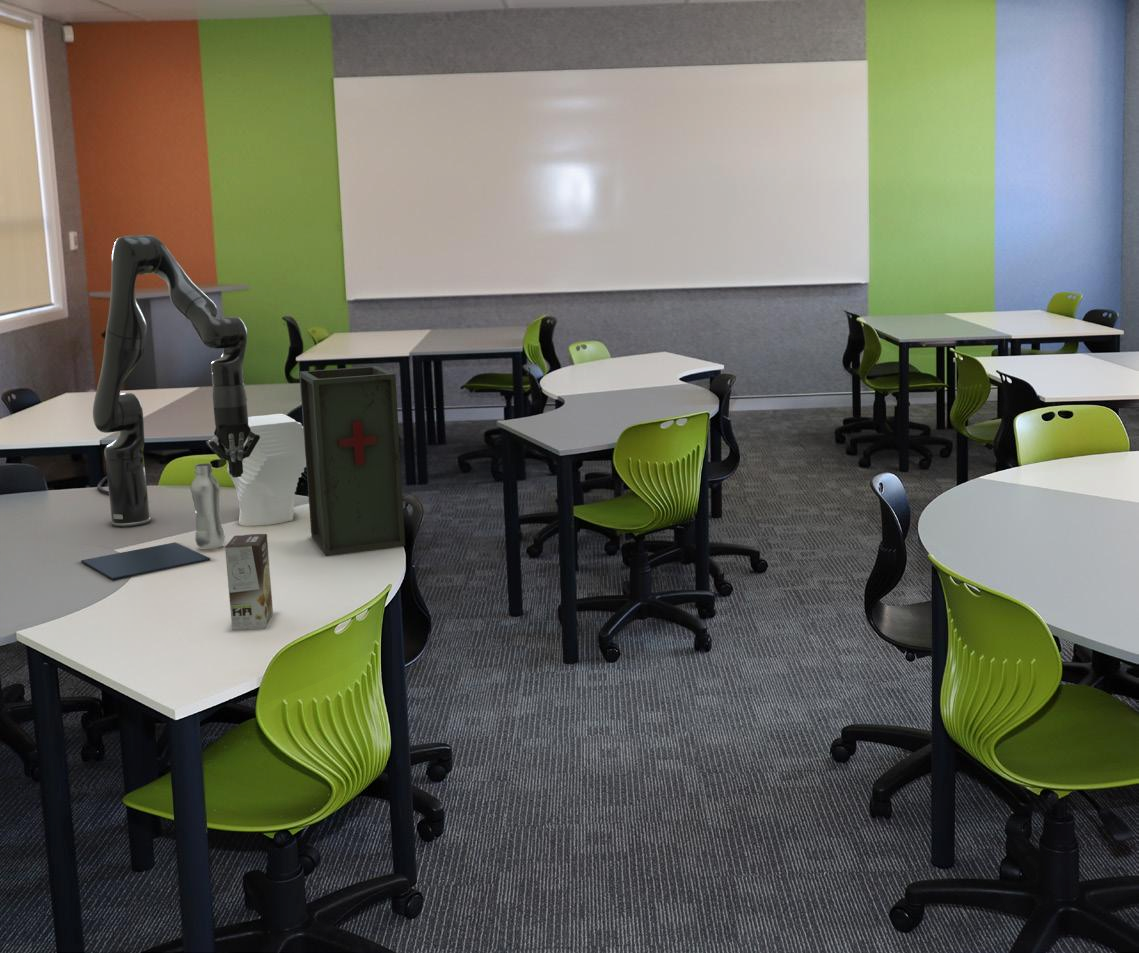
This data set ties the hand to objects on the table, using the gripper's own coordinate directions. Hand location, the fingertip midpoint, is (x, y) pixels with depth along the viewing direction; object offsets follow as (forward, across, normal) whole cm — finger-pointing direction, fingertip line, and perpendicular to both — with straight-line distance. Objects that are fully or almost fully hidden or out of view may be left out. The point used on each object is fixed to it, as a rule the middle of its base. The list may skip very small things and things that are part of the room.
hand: (236, 476), depth 286 cm
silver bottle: (+16, +8, 0) cm, 18 cm away
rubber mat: (+16, +23, 0) cm, 28 cm away
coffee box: (+16, +25, +58) cm, 65 cm away
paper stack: (+16, -18, -20) cm, 32 cm away
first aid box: (+16, -20, +20) cm, 32 cm away
